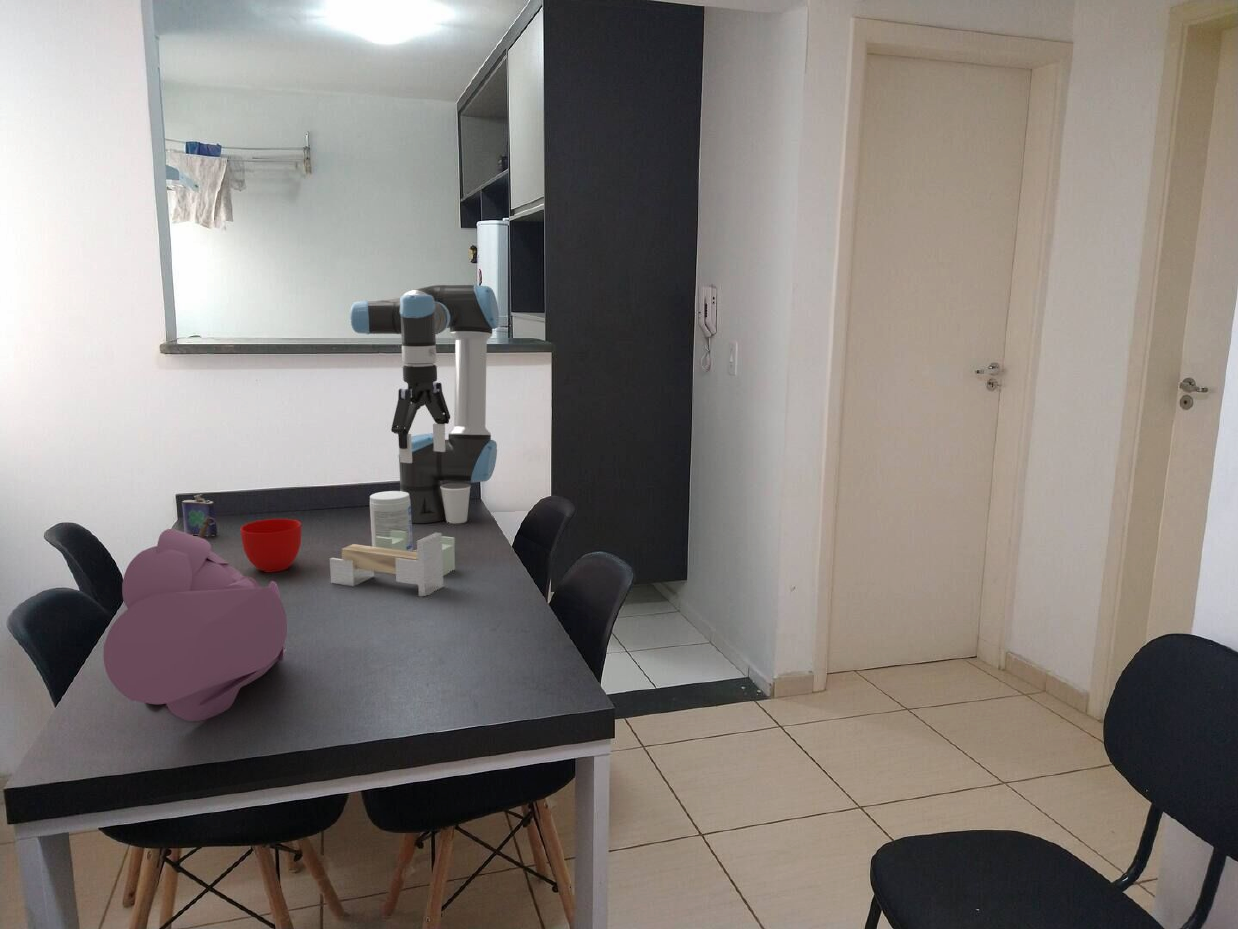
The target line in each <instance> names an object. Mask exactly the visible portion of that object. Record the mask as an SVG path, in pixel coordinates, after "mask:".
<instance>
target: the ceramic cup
mask: <svg viewBox="0 0 1238 929" xmlns="http://www.w3.org/2000/svg"><path fill="white" fill-rule="evenodd" d="M240 536H241V537H240V538H241V543H242V548H243V550H244V553H245V555H246V558H247V560H248V561H249V562H250V563H251V564H252V565H253V566H254V567H255V568H256V569H258V570H257V571H259V570H261V571H260V572H262V571H266V572H265V573H277V572H280V571H281V570H282V571H285V570H287V569H288V568H289V567H290V566H291V565H292V563H293V562H294V560H296V557H297V556H298V554H299V551H300V548H301V541H302V524H301V522H300V521H298V520H295V519H289V518H270V519H262V520H256V521H252V522H249V523H245V524H244V525H242V526H241V527H240ZM275 571H276V572H275Z"/></svg>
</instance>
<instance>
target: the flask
mask: <svg viewBox="0 0 1238 929" xmlns="http://www.w3.org/2000/svg"><path fill="white" fill-rule="evenodd" d="M202 496H203V494H202V493H200V494H197V495H193V498H195V499H194V500H192V499H186V500H185V499H184V500H183V501H181V506H182V516H183V532H184V533H187V534H199V532H200V529H201V528H202V527H203V523H204V520H205V521H206V518H207V517H210V522H209V526H207V532H206V534H205V535H208V536H212V535H216V534H217V535H218V528H217V527H218V526H217V520H216V510H215V502H214V501H212V500H210V499H207V500H205V499H204V498H203V497H202ZM211 518H213V519H211ZM214 519H215V521H214ZM214 522H215V523H214ZM212 523H214V524H212ZM210 524H211V525H210ZM208 536H207V537H208Z"/></svg>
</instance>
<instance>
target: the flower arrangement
mask: <svg viewBox="0 0 1238 929" xmlns="http://www.w3.org/2000/svg"><path fill="white" fill-rule="evenodd" d="M211 550H212V545H211V543H210V542H209V541H208V540H207V539H205V538H204V537H203V538H200V537H198V536H193V535H190V534H187V533H184V531H181V530H179V529H175V528H168V529H164V530H163V531H162V532H161V533H160V535H159V537H158V541H157V545H156V546H152V547H149V548H146V549H143V550H142V551H140V552H139V553H138V554H136V556H134V558H132V560H131V561H130V562H129V564H128V566H127V568H126V570H125V573H124V574H123V580H122V584H121V588H122V590H121V592H122V594H121V595H122V599H123V603H124V605H125V606H126V608H127V609H126V610H125V611H123V613H122V614H121V615H120V616H119V617H118V618H117V619H116V620H115V621H114V623H113V624H112V625H111V627H110V629H109V630H108V632H107V633H108V634H107V636H106V638H105V641H104V644H103V656H102V657H103V662H104V663H103V665H104V669H105V672H106V674H107V677H108V679H109V681H110V682H111V683H112V685H113V686H114V687H115V689H117V691H118V692H119V693H121V695H123V696H125V697H126V698H127V699H128V700H131V701H135V702H139V703H142V704H150V705H163V704H166V707H167V708H168V710H169V711H170V713H172V714H173V715H175V716H176V717H178V718H180V719H181V720H183V721H189V722H201V721H205V720H208V719H210V718H213V717H215V716H218V715H219V714H222V713H224V712H225V711H227V710H229V709H230V708H231V707H232V705H233V703H234V702H235V700H236V697H237V695H238V693H239V691H240V689H242V688H243V687H244V686H247V685H248V684H251V683H252V682H253V681H256V680H258V679H259V678H260V677H262V676H264V675H265V674H266V673H267V672H268V671H269V670H270V669H271V668H272V667H273V665H274V664H275V663H276V662H277V661H278V662H283V661H284V654H285V653H286V652H287V650H286V647H284V645H285V643H286V642H287V634H288V621H287V614H286V610H285V608H284V605H283V603H282V601H281V594H280V590H279V588H278V585H277V583H276V582H275V581H273V580H272V581H270V583H269V584H268V586H266V587H262V586H261V585H260V584H259V583H258V582H257V580H255V579H254V578H253V577H250V576H246V575H245V576H244V575H243V574H242V573H241V572H239V571H238V570H237V569H236V568H235V567H233V566H231V565H229V562H228V561H226V560H225V559H223V558H222V557H221V556H219V555H217V554H216V553H215V552H213V551H211Z"/></svg>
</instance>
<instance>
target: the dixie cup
mask: <svg viewBox="0 0 1238 929" xmlns="http://www.w3.org/2000/svg"><path fill="white" fill-rule="evenodd" d="M471 485H472V484H470V483H468V482H448V483H447V482H446V483H444V484H443V485H441V486H440V488H441V491H442V497H443V504H444V510H445V516H446V519H445V522H446V521H447V522H446V523H448V522H449V523H448V524H463V523H466V522H467V521H468V513H469V512H468V511H469V501H470V495H471V494H470V492H471V487H472V486H471Z"/></svg>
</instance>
